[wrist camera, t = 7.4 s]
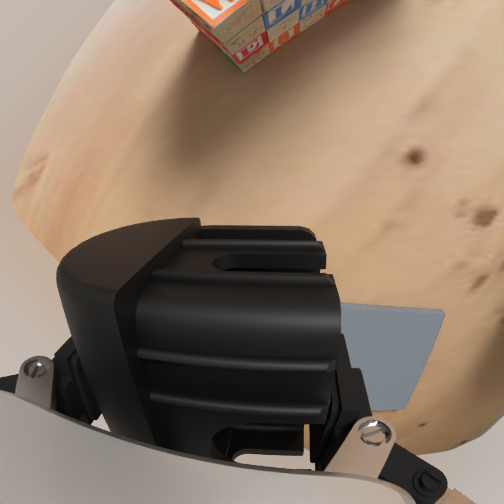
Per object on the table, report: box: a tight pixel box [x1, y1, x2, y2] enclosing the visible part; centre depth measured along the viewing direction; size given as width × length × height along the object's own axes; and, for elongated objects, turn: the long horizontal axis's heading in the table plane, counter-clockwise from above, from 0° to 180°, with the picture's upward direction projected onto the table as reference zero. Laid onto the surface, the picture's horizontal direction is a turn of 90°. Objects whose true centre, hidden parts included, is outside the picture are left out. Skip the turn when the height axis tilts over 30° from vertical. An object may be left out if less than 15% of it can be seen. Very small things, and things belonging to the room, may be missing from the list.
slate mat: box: [341, 303, 445, 411], centre depth 31 cm, size 14×14×1 cm
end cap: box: [56, 218, 341, 470], centre depth 10 cm, size 10×7×7 cm
